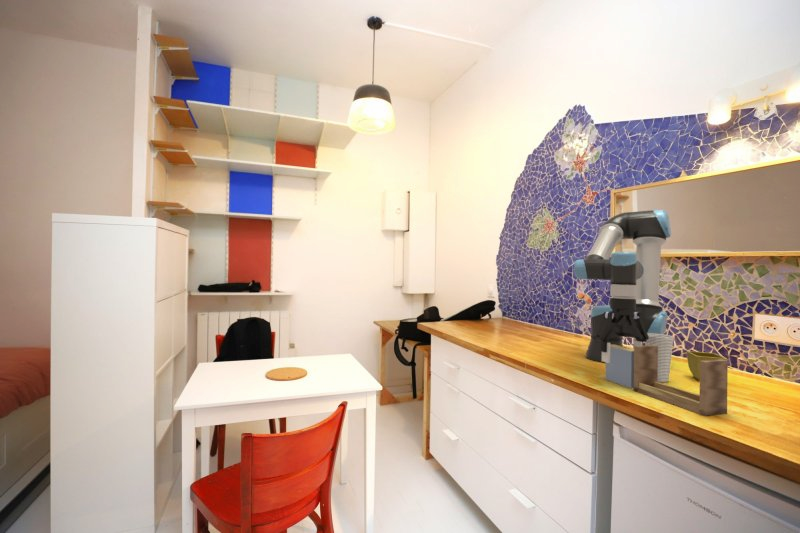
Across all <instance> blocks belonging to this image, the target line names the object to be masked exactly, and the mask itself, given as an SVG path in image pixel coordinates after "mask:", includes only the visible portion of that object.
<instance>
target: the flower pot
mask: <svg viewBox="0 0 800 533" xmlns="http://www.w3.org/2000/svg"><path fill="white" fill-rule="evenodd" d="M686 357H687V358H686V359H687V365H688V369H689V372H690V373H691V374H692V376H693V378H695V379H697V380H698V381H700V361H705V360H719V359H722V360H727V361H728V358H727V357H725V356H722V355H720V354H717V353H715V352H703V351H691V350H690V351H689V350H686Z"/></svg>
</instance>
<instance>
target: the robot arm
mask: <svg viewBox="0 0 800 533" xmlns="http://www.w3.org/2000/svg"><path fill="white" fill-rule="evenodd" d="M671 236H672V231H671V224H670V218H669V214H668V212H667V211H666V210H665V209H651V210H639V211H631V212H629V211H627V212H626V211H625V212H622V213H619V214H616V215H614V216H612V217H610V218H608V220H606V221H605V222H604V223H603V224H602V225H601V226H600V228H599V230H598V236H597V239H596V240H595V241H594V244H593V245H592V247H591V248H590V250H589V252H588V254H587V255H586V257H585V259H583V258H582V259H577V260H575V262H574V265H573V273H574V276H575V277H576V278H577V279H578V280H579V279H580V280H581V279H582V280H607V281H609V280H610V288H609V289H610V293H609V295H610V296H611V298H610V299H609V304H607V305H606V304H605V305H595V306H593V307H592V308H591V312H590V341H589V344H588V348H587V349H586V353H585V357H586V358H587V359H588V360H591V361H595V362H599V363H605V364H606V363H610V345H613V344H614V345H619V346H623V347H624V345H623V337H624V338H633V339H634V340H633V347H632V349H634V346H644V343H645V342H646V341H647V340H648V339H649V337H648V334H647V333H654V334H664V335H665V333H666V329H667V328H666V327H667V324H668V323H667V322H668V313H667V311H665V310H663V309H664V307H663V306H662V305H661V304H660V302H659V300H660V299H659V295H660V294H659V293H660V277H661V256H662V254H661V253H662V252H661V251H662V246H664V244H665V243H666V242H667V239H668V238H671ZM631 239H632V243H633V244H634V245H635V246H636V248H635V252H634V251H614V250H615V247H616V246H617V244H618V243H619V242H621V241H622V240H631Z"/></svg>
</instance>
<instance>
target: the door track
mask: <svg viewBox="0 0 800 533" xmlns="http://www.w3.org/2000/svg"><path fill="white" fill-rule="evenodd" d="M728 364H729V363H728V359H727V360H722V359H719V360H705V361H700V380H699V394H697V393H694V392H691V391H687V390H685V389H681V388H679V387H674V386H671V385H668V384H665V383H663V382H658V346H656V345H645V344H643V346H634V388H633V392H636V393H639V394H642V395H645V396H647V395H648V396H647V397H650V398H653V397H654V399H656V400H659V401H662V402H664V401H665V403H667V402H668V404H670V403H671V404H670V405H673V404H674V405H673V406H676V407H678V406H679V407H678V408H681V407H682V409H684V408H685V409H684V410H687V409H688V410H687V411H690V412H692V411H693V413H695V414H699V415H701V416H704V417H710V416H717V415H723V414H728V373H729V372H728V368H729V367H728Z"/></svg>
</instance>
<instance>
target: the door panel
mask: <svg viewBox="0 0 800 533" xmlns="http://www.w3.org/2000/svg"><path fill="white" fill-rule="evenodd" d="M605 380H606V381H609V382H612V383H614V384H617V385H621V386H623V387H626V388H629V389H634V349H633V348H630V347H628V346H627V347H626V346H624V345H623V346H619V345H614V344H613V345H610V363H606V362H605Z"/></svg>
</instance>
